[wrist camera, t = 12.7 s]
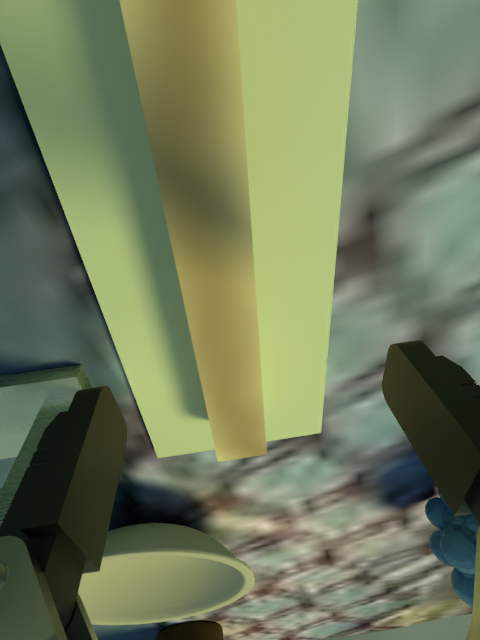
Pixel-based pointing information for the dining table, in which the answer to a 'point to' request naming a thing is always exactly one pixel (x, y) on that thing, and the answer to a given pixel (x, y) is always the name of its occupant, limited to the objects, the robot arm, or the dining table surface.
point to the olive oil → (192, 631)
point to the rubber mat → (147, 208)
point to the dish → (161, 576)
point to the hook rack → (31, 416)
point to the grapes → (454, 544)
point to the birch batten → (205, 198)
